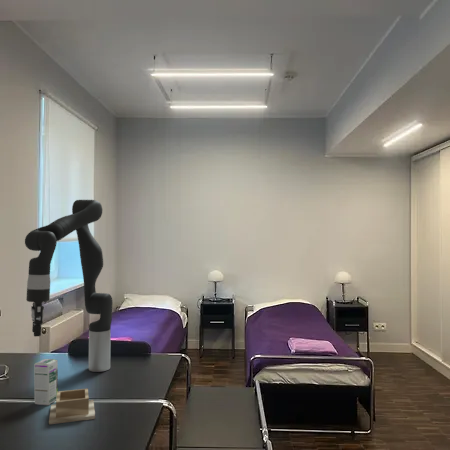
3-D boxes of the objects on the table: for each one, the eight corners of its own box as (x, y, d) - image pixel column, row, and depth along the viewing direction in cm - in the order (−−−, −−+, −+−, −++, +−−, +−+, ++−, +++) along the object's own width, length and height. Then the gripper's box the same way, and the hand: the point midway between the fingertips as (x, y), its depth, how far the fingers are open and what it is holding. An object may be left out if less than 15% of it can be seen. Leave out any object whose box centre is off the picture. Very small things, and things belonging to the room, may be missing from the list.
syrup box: (48, 405, 155) (49, 363, 155) (33, 404, 156) (34, 362, 156) (58, 399, 160) (58, 359, 161) (43, 398, 162) (43, 358, 162)
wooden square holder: (51, 407, 153) (51, 390, 153) (93, 402, 158) (93, 385, 158) (48, 424, 140) (49, 405, 140) (95, 418, 144) (95, 400, 144)
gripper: (51, 289, 152) (49, 337, 151) (48, 285, 165) (46, 330, 164) (27, 289, 149) (25, 338, 148) (26, 286, 162) (23, 331, 160)
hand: (36, 334), depth 156 cm, fingers open, 8 cm apart
